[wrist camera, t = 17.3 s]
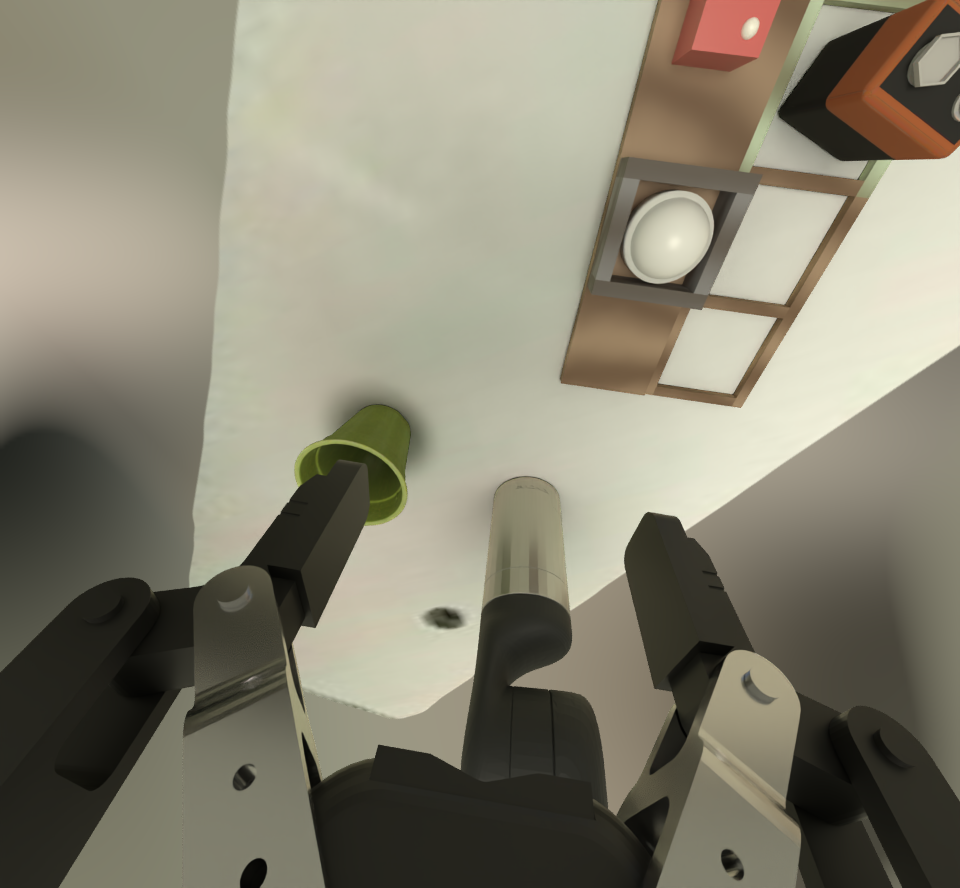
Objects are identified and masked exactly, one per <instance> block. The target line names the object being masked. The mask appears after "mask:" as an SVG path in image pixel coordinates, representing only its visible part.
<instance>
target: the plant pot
mask: <svg viewBox="0 0 960 888" xmlns="http://www.w3.org/2000/svg"><path fill="white" fill-rule="evenodd" d="M410 436H411V431H410V427H409V424H408V422H407V421H406V420H405V419H404V418H403V417H402V416H401V414H400V413H399V412H398V411H396V410H394V409H392V408H390V407H387V406H384V405H371V406H368V407H366V408H363V409H362V410H360V411H359V412H358V413H357V414H356V415H355V416H353V417H352V418H351V419H350V420H349V421H347V422H346V423H345V424H344V425H343V426H342V427H340V428H339V429H338V430H337V431H336V432H334V433H333V434H332V435H330V436H328V437H326V438H325V439H323V440H321V441H318V442H315V443H313V444H311V445H309V446H308V447H306V448H305V449H304V450H303V451H302V452H301V453H300V454H299V456H298V458H297V460H296V462H295V470H294V471H295V479H296V482H297V485H298V487H299V486H300V485H302V484H303V483H305V482H306V481H307V480H309V479H310V478H312V477H313V476H315V475H316V474H318V475H324V476H327V475H328V473H329V472H330V470H331V469H332V467H333V466H334V464H335V463H336V462H337V461H338V460H346V461H352V462H358V463H364V464H366V465H367V468H368V482H369V497H370V506H369V512H368V516H367V520H366V522H365V524H364V526H368V525H378V524H383V523H385V522H388V521H390V520H392V519H394V518H395V517H397V516H398V515H399V514H400V513H401V512H402V510H403V509H404V507H405V505H406V501H407V486H406V483H405V468H406V461H407V455H408V449H409V442H410Z"/></svg>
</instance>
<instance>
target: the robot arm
mask: <svg viewBox="0 0 960 888" xmlns="http://www.w3.org/2000/svg"><path fill="white" fill-rule="evenodd" d="M369 506H370V497H369V482H368V468H367V465H366V464H364V463H358V462H352V461H346V460H338V461H337V462H336V463H335V464H334V466H333V467H332V469H331V470H330V472H329V473H328V475H327V476H324V475H318V474H316V475H315V476H313V477H312V478H310V479H309V480H307V481H306V482H305V483H303V484H302V485H300V486H299V488H298V489H297V490H296V492H295V493H294V495H293V496H292V497H291V499H290V501H289V503H287V504H286V505H285V507H284V508H283V509H282V511H281V514H280V515H278V516H277V517H276V519H275V520H274V521H273V523H272V524H271V526H270V527H269V528H268V530H267V531H266V532H265V534H264V535H263V536H262V538H261V539H260V540H259V542H258V543H257V544H256V546H255V547H254V548H253V550H252V551H251V552H250V554H249V555H248V557H247V558H246V559H245V560H244V562H243V563H242V564H241V565H240V566H238V567H234V568H230V569H228V570H225V571H223V572H221V573H219V574H218V575H216V576H215V577H213V578H212V579H210V580H209V581H208V582H207V583H206V584H205V585H203V586H198V587H191V588H183V589H174V590H167V591H158V592H153V591H152V590H151V589H150V587H149V586H148V584H147V583H146V582H144V581H143V580H140V579H136V578H119V579H114V580H111V581H107V582H104V583H102V584H99V585H97V586H95V587H93V588H91V589H89V590H87V591H86V592H84V593H83V594H81V595H80V596H78V597H77V598H76V599H74V600H73V601H72V602H71V603H70V604H69V605H68V606H67V607H66V608H65V609H64V610H63V611H62V612H61V613H60V614H59V615H58V616H57V617H56V618H55V619H54V620H53V621H52V622H50V623H49V624H48V626H46V628H44V629H43V630H42V632H40V634H39V635H37V636H36V637H35V638H34V639H33V640H32V641H31V642H30V643H29V644H28V645H27V646H26V648H24V650H23V651H22V652H21V653H20V654H18V655H17V656H16V657H15V658H14V659H13V660H12V662H11V663H9V664H8V665H7V666H6V667H5V668H4V669H3V671H1V672H0V888H58V887H59V886H60V884H61V883H62V881H63V879H64V878H65V876H66V875H67V873H68V871H69V870H70V868H71V867H72V865H73V863H74V862H75V860H76V859H77V857H78V855H79V854H80V852H81V850H82V849H83V847H84V846H85V844H86V842H87V841H88V839H89V837H90V836H91V834H92V833H93V831H94V829H95V828H96V826H97V824H98V823H99V821H100V820H101V818H102V817H103V815H104V813H105V812H106V810H107V808H108V807H109V805H110V804H111V802H112V800H113V799H114V797H115V796H116V794H117V792H118V791H119V789H120V787H121V786H122V784H123V783H124V781H125V779H126V778H127V776H128V775H129V773H130V771H131V770H132V768H133V766H134V765H135V763H136V761H137V760H138V758H139V757H140V755H141V754H142V752H143V750H144V749H145V747H146V745H147V744H148V742H149V740H150V739H151V737H152V736H153V734H154V733H155V731H156V729H157V728H158V726H159V724H160V723H161V721H162V720H163V718H164V716H165V715H166V713H167V712H168V710H169V708H170V706H171V705H172V703H173V702H174V700H175V699H176V697H177V695H178V694H179V692H180V690H181V689H182V688H186V687H192V686H195V701H194V706H193V708H192V709H191V710H189V711H188V712H187V714H186V717H185V721H184V727H183V867H182V869H183V870H182V873H183V874H182V875H183V876H182V879H183V881H182V888H795V885H796V877H797V870H798V866H799V869H800V872H801V875H802V878H803V881H804V883H805V886H806V888H893V887H892V885H891V882H890V881H889V878H888V876H887V874H886V872H885V870H884V868H883V866H882V863H881V862H880V859H879V857H878V855H877V853H876V851H875V849H874V847H873V845H872V842H871V840H870V838H869V836H868V834H867V832H866V830H865V828H864V826H863V823H862V821H861V820H864V819H867V818H869V820H870V822H871V824H872V826H873V828H874V830H875V832H876V834H877V836H878V838H879V840H880V842H881V844H882V847H883V848H884V851H885V853H886V855H887V857H888V859H889V861H890V863H891V865H892V867H893V869H894V871H895V873H896V875H897V877H898V879H899V882H900V884H901V886H902V888H960V801H959V800H958V798H957V797H956V795H955V793H954V792H953V790H952V789H951V787H950V786H949V784H948V783H947V781H946V780H945V778H944V776H943V775H942V773H941V772H940V770H939V769H938V767H937V766H936V764H935V763H934V761H933V759H932V758H931V757H930V755H929V754H928V753H927V751H926V750H925V748H924V747H923V746H922V745H921V744H920V742H919V741H918V740H917V739H916V738H915V737H914V736H913V735H912V734H911V733H910V732H909V731H908V730H906V729H905V728H904V727H903V726H902V725H900V724H899V723H898V722H897V721H895V720H894V719H892V718H891V717H889V716H888V715H886V714H884V713H882V712H880V711H878V710H876V709H873V708H870V707H866V706H856V707H853V708H851V709H849V710H847V711H846V712H844V713H840V712H838V711H835V710H833V709H831V708H829V707H827V706H825V705H823V704H821V703H819V702H816V701H814V700H812V699H810V698H808V697H806V696H804V695H802V694H800V693H798V692H796V691H795V690H794V688H793V686H792V685H791V683H790V682H789V681H788V679H787V678H786V677H785V676H784V674H783V673H781V671H780V670H779V669H778V668H777V667H776V666H774V665H773V664H772V663H770V662H769V661H768V660H766V659H765V658H763V657H762V656H760V655H757V654H756V653H755V651H754V649H753V648H752V645H751V643H750V641H749V639H748V637H747V635H746V633H745V631H744V629H743V627H742V624H741V623H740V620H739V618H738V616H737V614H736V612H735V610H734V607H733V605H732V603H731V601H730V599H729V597H728V595H727V593H726V592H724V586H723V584H722V582H721V580H720V578H719V577H718V576H717V571H716V569H715V567H714V565H713V563H712V561H711V559H710V557H709V555H708V554H707V553H706V552H705V550H704V549H703V548H702V547H701V546H700V545H699V544H698V543H697V541H696V540H695V539H693V538H687V536H686V533H685V531H684V529H683V527H682V524H681V522H680V520H679V519H678V518H677V517H675V516H669V515H663V514H657V513H651V512H647V513H646V514H645V515H644V516H643V518H642V520H641V521H640V523H639V525H638V527H637V529H636V531H635V532H634V534H633V536H632V538H631V540H630V541H629V543H628V545H627V547H626V551H625V557H624V564H625V570H626V574H627V578H628V582H629V587H630V590H631V595H632V599H633V603H634V607H635V611H636V615H637V619H638V624H639V627H640V631H641V636H642V640H643V643H644V648H645V652H646V656H647V661H648V665H649V668H650V673H651V677H652V681H653V685H654V688H655V689H660V690H666V691H672V692H673V696H674V700H675V704H674V705H673V706H672V707H671V709H670V711H669V713H668V716H667V718H666V720H665V723H664V725H663V727H662V729H661V731H660V734H659V736H658V738H657V740H656V743H655V745H654V747H653V750H652V752H651V754H650V756H649V758H648V761H647V763H646V765H645V768H644V770H643V772H642V774H641V776H640V778H639V780H638V781H637V783H636V784H635V786H634V787H633V788H632V790H631V791H630V792H629V794H628V795H627V797H626V799H625V801H624V802H623V804H622V806H621V808H620V809H619V811H618V814H617V816H615V815H614V814H613V813H612V812H611V811H610V810H609V809H608V802H607V792H606V781H605V770H604V759H603V752H602V745H601V739H600V733H599V728H598V724H597V721H596V717H595V714H594V711H593V709H592V707H591V705H590V703H589V702H588V700H586V698H585V697H583V696H581V695H580V694H576V693H572V692H565V691H557V690H549V691H548V690H547V689H537V688H527V687H516V686H514V687H512V686H510V685H511V684H512V683H513V682H514V681H515V680H516V679H518V678H519V677H521V676H522V675H524V674H526V673H528V672H530V671H533V670H535V669H538V668H542V667H544V666H547V665H550V664H553V663H555V662H557V661H559V660H560V659H562V658H563V657H564V656H565V655H566V654H567V653H568V651H569V649H570V647H571V643H572V629H571V619H570V608H569V597H568V587H567V576H566V564H565V553H564V542H563V530H562V518H561V507H560V498H559V494H558V493H557V491H556V490H555V489H554V487H553V486H552V485H550V484H549V483H547V482H545V481H543V480H540V479H537V478H532V477H520V478H515V479H511V480H509V481H507V482H505V483H504V484H502V485H501V486H500V487H499V488H498V489H497V491H496V493H495V496H494V503H493V512H492V520H491V529H490V538H489V548H488V557H487V566H486V575H485V584H484V595H483V604H482V613H481V623H480V633H479V643H478V652H477V660H476V668H475V675H474V682H473V689H472V695H471V700H470V706H469V712H468V718H467V724H466V730H465V737H464V745H463V752H462V760H461V770H459V769H457V768H455V767H453V766H451V765H450V764H448V763H446V762H444V761H442V760H441V759H439V758H437V757H435V756H433V755H431V754H428V753H422V752H417V751H411V750H406V749H400V748H394V747H389V746H383V745H378V748H377V752H376V755H375V758H372V759H366V760H363V761H359V762H357V763H353V764H350V765H348V766H346V767H344V768H342V769H340V770H338V771H336V772H335V773H333V774H332V775H330V776H328V777H327V778H325V779H324V780H323V778H322V773H321V768H320V764H319V759H318V754H317V750H316V746H315V742H314V738H313V734H312V730H311V727H310V723H309V718H308V714H307V709H306V704H305V699H304V695H303V690H302V685H301V680H300V675H299V670H298V666H297V661H296V656H295V651H294V646H293V640H294V638H295V637H296V635H297V633H298V631H299V629H300V627H301V626H307V627H313V628H316V626H317V624H318V622H319V619H320V617H321V615H322V613H323V611H324V609H325V607H326V605H327V603H328V600H329V598H330V596H331V594H332V592H333V590H334V588H335V586H336V584H337V581H338V579H339V577H340V575H341V573H342V571H343V569H344V567H345V565H346V562H347V560H348V558H349V556H350V554H351V552H352V550H353V548H354V546H355V543H356V541H357V539H358V537H359V535H360V533H361V531H362V529H363V527H364V524H365V522H366V520H367V516H368V512H369Z"/></svg>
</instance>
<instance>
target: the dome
mask: <svg viewBox="0 0 960 888" xmlns="http://www.w3.org/2000/svg"><path fill="white" fill-rule="evenodd" d="M713 230H714V220H713V215H712V211H711V209H710V207H709V205H708V204H707V203H706V201H705V200H704V199H703V198H702V197H700V196H699V195H697V194H695V193H692V192H688V191H682V190H665V191H660V192H658V193H655V194H653V195H651V196H649V197H648V198H646V199H645V200H644V201H642V202H641V203H640V204H639V205H638V206H637V207H636V208H635V209H634V210H633V212H632V213H631V214H630V216H629V219H628V222H627V225H626V229H625V232H624V236H623V239H622V242H621V246H620V249H621V255H622V258H623V260H624V263H625V264H626V266H627V267H628V268H629V269H630V270H631V271H632V272H633V273H634V274H635V275H636V276H637V277H638V278H640V279H641V280H643V281H646V282H649V283H655V284H661V283H668V282H671V281H674V280H677V279H679V278H681V277H682V276H684V275H686V274H687V273H688V272H690V271H691V270H692V269H693V268H694V267H695V266H696V265H697V264H698V263H699V262H700V261H701V259H702V258H703V257H704V255H705V254H706V252H707V250H708V248H709V246H710V243H711V240H712V236H713Z"/></svg>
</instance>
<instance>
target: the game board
mask: <svg viewBox="0 0 960 888" xmlns="http://www.w3.org/2000/svg"><path fill="white" fill-rule="evenodd" d="M924 1H926V0H781V1H780V4H779V7H778V9H777V12H776V14H775V17H774V19H773V22H772V25H771V27H770V30H769V32H768V35H767V37H766V40H765V43H764V45H763V48H762V50H761V53H760V55H759V58H757V59H755V60H753V61H751V62H749V63H747V64H745V65H743V66H741V67H739V68H737V69H735V70H732V71H730V72H728V71H720V70H712V69H704V68H696V67H689V66H681V65H673V64H672V60H673V57H674V53H675V50H676V46H677V43H678V40H679V36H680V33H681V29H682V26H683V23H684V19H685V16H686V12H687V9H688V6H689V2H690V0H658V4H657V7H656V11H655V15H654V19H653V23H652V27H651V31H650V34H649V38H648V42H647V46H646V50H645V54H644V58H643V61H642V65H641V69H640V73H639V77H638V81H637V84H636V88H635V92H634V96H633V100H632V104H631V108H630V111H629V115H628V119H627V123H626V127H625V131H624V135H623V138H622V142H621V146H620V150H619V154H618V158H617V162H616V165H615V169H614V173H613V177H612V181H611V185H610V188H609V192H608V196H607V200H606V204H605V208H604V212H603V215H602V219H601V223H600V227H599V231H598V235H597V239H596V242H595V246H594V250H593V254H592V258H591V262H590V266H589V269H588V273H587V277H586V281H585V285H584V289H583V292H582V296H581V300H580V304H579V308H578V312H577V316H576V319H575V323H574V327H573V331H572V335H571V339H570V343H569V346H568V350H567V354H566V358H565V362H564V366H563V370H562V373H561V377H560V380H561V383H563V384H570V385H577V386H584V387H591V388H597V389H604V390H611V391H618V392H625V393H632V394H638V395H645V394H650V395H657V396H663V397H670V398H677V399H684V400H691V401H698V402H705V403H711V404H718V405H725V406H732V407H739V408H741V407H742V405H743V404H744V402H745V400H746V399H747V397H748V395H749V394H750V392H751V390H752V389H753V387H754V386H755V384H756V382H757V381H758V379H759V377H760V376H761V374H762V372H763V371H764V369H765V368H766V366H767V364H768V363H769V361H770V359H771V358H772V356H773V354H774V353H775V351H776V350H777V348H778V346H779V345H780V343H781V341H782V340H783V338H784V336H785V335H786V333H787V331H788V330H789V328H790V327H791V325H792V323H793V322H794V320H795V318H796V317H797V315H798V313H799V312H800V310H801V309H802V307H803V305H804V304H805V302H806V300H807V299H808V297H809V295H810V294H811V292H812V291H813V289H814V287H815V286H816V284H817V282H818V281H819V279H820V277H821V276H822V274H823V272H824V271H825V269H826V268H827V266H828V264H829V263H830V261H831V259H832V258H833V256H834V254H835V253H836V251H837V250H838V248H839V246H840V245H841V243H842V241H843V240H844V238H845V236H846V235H847V233H848V232H849V230H850V228H851V227H852V225H853V223H854V222H855V220H856V218H857V217H858V215H859V213H860V212H861V210H862V209H863V207H864V205H865V204H866V202H867V200H868V199H869V197H870V195H871V194H872V192H873V191H874V189H875V187H876V186H877V184H878V182H879V181H880V179H881V177H882V176H883V174H884V172H885V171H886V169H887V168H888V166H889V164H890V163H891V161H892V160H869V162H868V164H867V165H866V167H865V169H864V170H863V172H862V174H861V176H860V177H859V179H858V180H854V179H846V178H839V177H831V176H823V175H816V174H808V173H801V172H793V171H786V170H778V169H770V168H763V167H755V166H753V163H754V161H755V159H756V156H757V154H758V152H759V150H760V147H761V145H762V143H763V140H764V138H765V136H766V133H767V131H768V129H769V127H770V124H771V122H772V120H773V117H774V115H775V113H776V110H777V108H778V106H779V104H780V101H781V99H782V97H783V94H784V92H785V90H786V88H787V85H788V83H789V81H790V78H791V76H792V74H793V71H794V69H795V67H796V65H797V62H798V60H799V58H800V55H801V53H802V51H803V48H804V46H805V44H806V42H807V39H808V37H809V35H810V32H811V30H812V28H813V26H814V23H815V21H816V19H817V16H818V14H819V12H820V9H821V7H822V5H823V4H826V5H835V6H843V7H851V8H859V9H868V10H876V11H884V12H892V13H898V12H900V11H902V10H905V9H907V8H909V7H912V6H914V5H917V4H919V3H921V2H924ZM759 184H762V185H769V186H777V187H784V188H792V189H800V190H807V191H815V192H822V193H830V194H837V195H845V196H848V198H847V200H846V201H845V203H844V205H843V207H842V208H841V210H840V212H839V213H838V215H837V217H836V219H835V220H834V222H833V224H832V225H831V227H830V229H829V231H828V232H827V234H826V236H825V238H824V239H823V241H822V243H821V244H820V246H819V248H818V250H817V251H816V253H815V255H814V256H813V258H812V260H811V262H810V263H809V265H808V267H807V268H806V270H805V272H804V274H803V275H802V277H801V279H800V281H799V282H798V284H797V286H796V287H795V289H794V291H793V293H792V294H791V296H790V298H789V299H788V301H787V303H786V305H781V304H773V303H766V302H759V301H752V300H745V299H738V298H731V297H723V296H716V295H709V293H710V290H711V288H712V286H713V284H714V282H715V279H716V277H717V275H718V273H719V271H720V268H721V266H722V264H723V262H724V260H725V257H726V255H727V253H728V251H729V249H730V246H731V244H732V242H733V240H734V238H735V235H736V233H737V231H738V229H739V227H740V224H741V222H742V220H743V218H744V216H745V213H746V211H747V209H748V207H749V205H750V202H751V200H752V198H753V196H754V194H755V191H756V189H757V187H758V185H759ZM665 190H682V191H688V192H692V193H695V194H697V195H699V196H700V197H702V198H703V199H704V200H705V201H706V203H707V204H708V205H709V207H710V209H711V211H712V215H713V220H714V230H713V236H712V240H711V243H710V246H709V248H708V250H707V252H706V254H705V255H704V257H703V258H702V259H701V261H700V262H699V263H698V264H697V265H696V266H695V267H694V268H693V269H692V270H691V271H690V272H688V273H687V274H686V275H684V276H682V277H681V278H679V279H677V280H674V281H671V282H668V283H661V284H655V283H649V282H646V281H643V280H641V279H640V278H638V277H637V276H636V275H635V274H634V273H633V272H632V271H631V270H630V269H629V268H628V267H627V266H626V264H625V263H624V260H623V258H622V255H621V249H620V246H621V242H622V239H623V236H624V232H625V229H626V225H627V222H628V219H629V216H630V214H631V213H632V212H633V210H634V209H635V208H636V207H637V206H638V205H639V204H640V203H641V202H642V201H644V200H645V199H646V198H648V197H649V196H651V195H653V194H655V193H658V192H660V191H665ZM703 307H704V308H711V309H718V310H726V311H733V312H740V313H747V314H754V315H761V316H768V317H775V318H777V320H776V322H775V324H774V325H773V327H772V329H771V330H770V332H769V334H768V336H767V337H766V339H765V341H764V342H763V344H762V346H761V348H760V349H759V351H758V353H757V354H756V356H755V358H754V360H753V361H752V363H751V365H750V367H749V368H748V370H747V372H746V373H745V375H744V377H743V379H742V380H741V382H740V384H739V385H738V387H737V389H736V391H735V392H734V394H733V395H731V394H725V393H718V392H711V391H704V390H697V389H690V388H683V387H676V386H670V385H663V384H658V381H659V379H660V377H661V375H662V372H663V370H664V368H665V365H666V363H667V361H668V359H669V356H670V354H671V352H672V349H673V347H674V345H675V342H676V340H677V338H678V336H679V333H680V331H681V329H682V326H683V324H684V322H685V319H686V317H687V315H688V313H689V310H690V308H691V309H698V310H702V308H703Z"/></svg>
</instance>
